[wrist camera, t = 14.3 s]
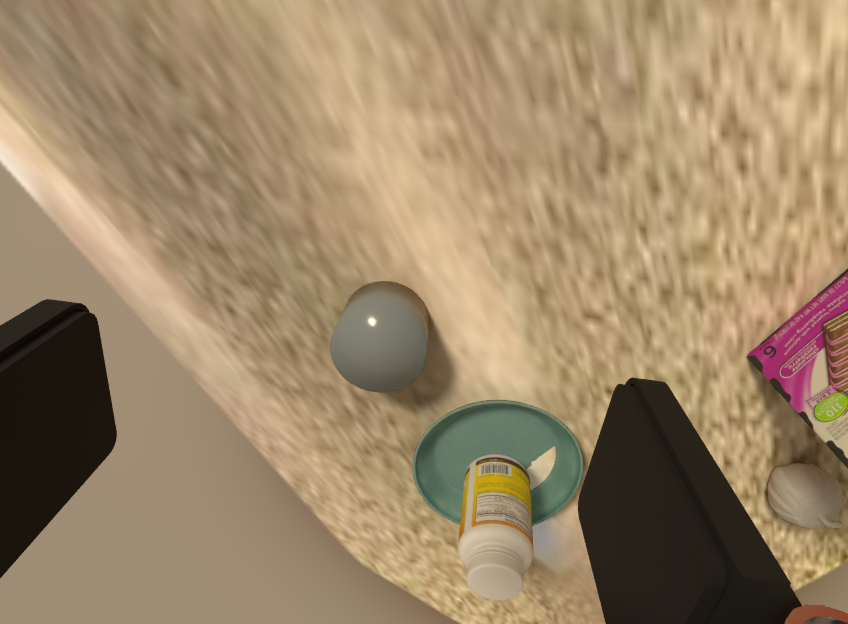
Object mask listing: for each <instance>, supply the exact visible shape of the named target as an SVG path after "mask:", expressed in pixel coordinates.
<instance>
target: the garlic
mask: <svg viewBox="0 0 848 624" xmlns="http://www.w3.org/2000/svg"><path fill="white" fill-rule="evenodd" d="M768 492H769V494H768V500H769V503H770V505H771V506H772V508H773V509H774V510H775V512H776V513H777V514H778V515H779V516H780V517H781V518H783V519H784V520H785V521H787V522H790V523H793V524H795V525H797V526H801V527H803V528H824V527H826V526H827V527H830V528H842V527H843V523H842V522H838V521H833V520H834V519H835V518H836V517H837V516H838V515H839V514H840V510H841V508H842V505H843V501H844V498H843V493H842V489H841V487H840V485H839V483H838V481H837V480H836V479H835V478H834V477H833V476H832V475H830V474H829V473H827V472H825V471H823V470H820V469H819V468H818V467H817V466H816V465H814V464H811V463H808V464H802V463H793V464H790V465H787V466H779V467H776V468H775V469H774V470H773V471H772V473H771V476H770V479H769V482H768ZM831 521H833V522H831Z"/></svg>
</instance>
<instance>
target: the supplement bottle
mask: <svg viewBox="0 0 848 624" xmlns="http://www.w3.org/2000/svg"><path fill="white" fill-rule="evenodd" d="M458 553H459V557H460V559H461V561H462V563H463V564H464V565H465V566H466V567H467V584H468V586H469V588H470V589H471V590H472V591H473V592H474V593H475V594H477V595H479V596H481V597H483V598H486V599H490V600H507V599H510V598H513V597H515V596H517V595H518V594H519V593H520V592H521V590H522V588H523V575H524V572H525V571H526V570H527V569H528V568H529V567H530V565H531V563H532V560H533V536H532V516H531V496H530V480H529V475H528V473H527V471H526V469H525V468H524V466H523V465H522V464H521V463H520V462H518V461H517V460H515V459H513V458H511V457H509V456H506V455H500V454H490V455H485V456H482V457H479V458H477V459H476V460H474V461H473V462H472V463H471V464H470V465H469V466H468V468H467V470H466V473H465V479H464V489H463V500H462V510H461V521H460V531H459V542H458Z"/></svg>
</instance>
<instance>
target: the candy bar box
mask: <svg viewBox="0 0 848 624" xmlns="http://www.w3.org/2000/svg"><path fill="white" fill-rule="evenodd" d="M747 357H748V358H749V359H750V361H751V362H752V363H753V364H754V365H755V366H756V367H757V368H758V370H759V371H760V372H761V373H762V374H763V375H764V377H765V378H766V379H767V380H768V381H769V382H770V383H771V384H772V385H773V386H774V387H775V389H776V390H777V391H778V392H779V393H780V394H781V395H782V396H783V397H784V398H785V400H786V401H787V402H788V403H789V404H790V405H791V406H792V407H793V409H794V410H795V411H796V412H797V413H798V414H799V415H800V416H801V417H802V418H803V420H804V421H805V422H806V423H807V424H808V425H809V426H810V427H811V428H812V429H813V430H814V432H815V433H816V434H817V435H818V436H819V437H820V438H821V439H822V440H823V441H824V442H825V444H826V445H827V446H828V447H829V448H830V449H831V450H832V451H833V452H834V454H835V455H836V456H837V457H838V458H839V459H840V460H841V461H842V462H843V463H844V465H845V466H846V467H847V468H848V269H847V270H846V271H845V272H843V273H842V274H841V275H840V276H839V277H838V278H836V279H835V280H834V281H833V282H832V283H831V284H830V285H828V286H827V287H826V288H825V289H824V290H823V291H821V292H820V293H819V294H818V295H817V296H816V297H814V298H813V299H812V300H811V301H810V302H809V303H807V304H806V305H805V306H804V307H803V308H802V309H801V310H799V311H798V312H797V313H796V314H795V315H793V316H792V317H791V318H790V319H789V320H788V321H787V322H785V323H784V324H783V325H782V326H781V327H780V328H778V329H777V330H776V331H775V332H774V333H773V334H771V335H770V336H769V337H768V338H767V339H766V340H764V341H763V342H762V343H761V344H760V345H759V346H757V347H756V348H755V349H754V350H753V351H751V352H750V353H749V354H748V355H747Z"/></svg>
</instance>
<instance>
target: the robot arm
mask: <svg viewBox="0 0 848 624" xmlns="http://www.w3.org/2000/svg"><path fill="white" fill-rule="evenodd" d="M116 436H117V431H116V426H115V420H114V414H113V408H112V402H111V396H110V390H109V385H108V378H107V373H106V367H105V361H104V356H103V349H102V344H101V338H100V332H99V326H98V321H97V318H96V317H95V315H94V314H92V313H89V310H88V309H87V307H86V306H85V305H83V304H81V303H72V302H66V301H58V300H50V299H46V300H44V301H41V302H39V303H38V304H36V305H34V306H33V307H31V308H29V309H28V310H26V311H24V312H22V313H21V314H19V315H17V316H16V317H14V318H12V319H11V320H9V321H7V322H6V323H4V324H2V325H1V326H0V578H1V577H2V576H3V575H4V573H5V572H6V571H7V570H8V569H9V568H10V567H11V565H12V564H13V563H14V562H15V561H16V560H17V559H18V558H19V556H20V555H21V554H22V553H23V552H24V551H25V550H26V548H27V547H28V546H29V545H30V544H31V543H32V542H33V541H34V539H35V538H36V537H37V536H38V535H39V534H40V533H41V531H42V530H43V529H44V528H45V527H46V526H47V525H48V523H49V522H50V521H51V520H52V519H53V518H54V517H55V515H56V514H57V513H58V512H59V511H60V510H61V509H62V508H63V506H64V505H65V504H66V503H67V502H68V501H69V500H70V498H71V497H72V496H73V495H74V494H75V493H76V492H77V490H78V489H79V488H80V487H81V486H82V485H83V484H84V482H85V481H86V480H87V479H88V478H89V477H90V476H91V474H92V473H93V472H94V471H95V470H96V469H97V468H98V466H99V465H100V464H101V463H102V462H103V461H104V460H105V459H106V457H107V456H108V455H109V454H110V453H111V451H112V449H113V447H114V445H115V442H116ZM578 514H579V519H580V523H581V527H582V531H583V535H584V539H585V543H586V547H587V551H588V555H589V559H590V563H591V567H592V571H593V575H594V579H595V583H596V587H597V591H598V594H599V598H600V602H601V606H602V610H603V614H604V618H605V622H606V624H848V614H847V613H845V612H843V611H839V610H836V609H833V608H830V607H826V606H822V605H804V606H802V605H801V603H800V602H799V600H798V598H797V597H796V595H795V593H794V592H793V590H792V588H791V587H790V584H791V583H790V581H789V580H788V578H787V576H786V575H785V573H784V572H783V570H782V568H781V567H780V565H779V563H778V562H777V560H776V559H775V557H774V555H773V554H772V552H771V551H770V549H769V547H768V546H767V544H766V543H765V541H764V539H763V538H762V536H761V535H760V533H759V531H758V530H757V528H756V526H755V525H754V523H753V522H752V520H751V518H750V517H749V515H748V514H747V512H746V510H745V509H744V507H743V506H742V504H741V502H740V501H739V499H738V497H737V496H736V494H735V493H734V491H733V489H732V488H731V486H730V485H729V483H728V481H727V480H726V478H725V477H724V475H723V473H722V472H721V470H720V469H719V467H718V465H717V464H716V462H715V460H714V459H713V457H712V456H711V454H710V452H709V451H708V449H707V448H706V446H705V444H704V443H703V441H702V440H701V438H700V436H699V435H698V433H697V431H696V430H695V428H694V427H693V425H692V423H691V422H690V420H689V419H688V417H687V415H686V414H685V412H684V411H683V409H682V407H681V406H680V404H679V403H678V401H677V399H676V398H675V396H674V394H673V393H672V391H671V390H670V388H669V386H668V385H667V384H666V383H665V382H661V381H654V380H646V379H639V378H630V379H629V380H628V381H627V382H626V384H625V385H623V384H619V385H617V386H616V388H615V390H614V392H613V395H612V398H611V401H610V404H609V407H608V410H607V413H606V417H605V420H604V423H603V426H602V429H601V432H600V435H599V438H598V441H597V444H596V447H595V450H594V453H593V456H592V459H591V462H590V465H589V468H588V471H587V474H586V477H585V480H584V483H583V486H582V489H581V492H580V495H579V500H578Z"/></svg>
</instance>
